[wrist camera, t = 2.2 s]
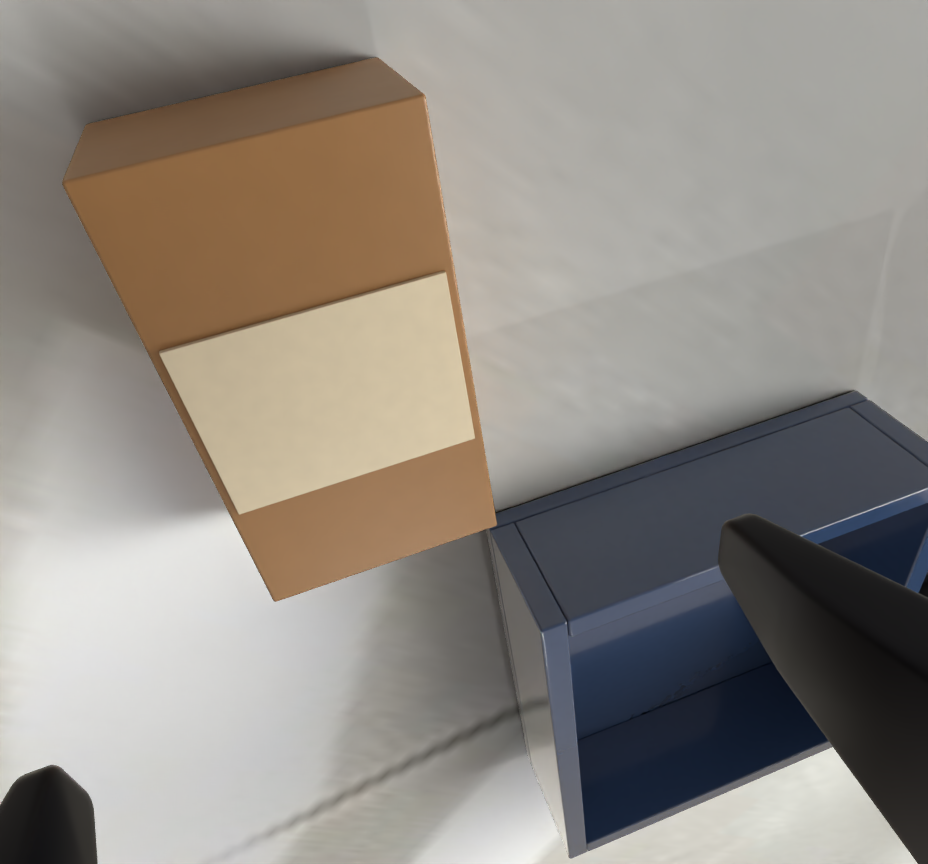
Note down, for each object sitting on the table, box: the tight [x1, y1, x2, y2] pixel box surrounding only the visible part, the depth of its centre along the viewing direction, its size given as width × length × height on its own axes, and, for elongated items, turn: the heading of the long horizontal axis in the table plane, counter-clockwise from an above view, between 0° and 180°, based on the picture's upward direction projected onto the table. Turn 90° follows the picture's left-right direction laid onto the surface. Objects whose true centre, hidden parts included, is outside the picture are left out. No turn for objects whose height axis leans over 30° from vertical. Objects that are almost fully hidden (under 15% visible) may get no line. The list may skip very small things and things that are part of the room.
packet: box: [62, 57, 497, 602], centre depth 15 cm, size 6×10×4 cm, turn 8°
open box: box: [486, 391, 928, 858], centre depth 26 cm, size 14×16×5 cm
